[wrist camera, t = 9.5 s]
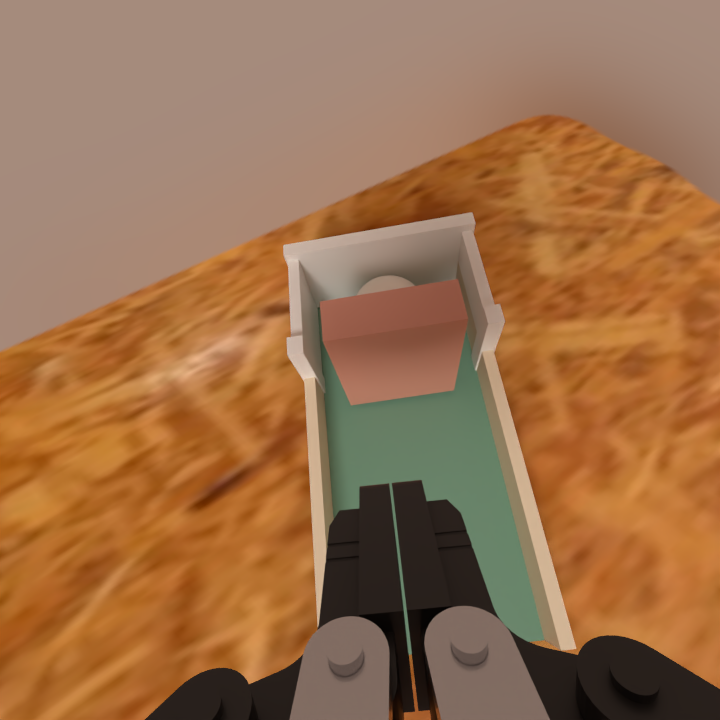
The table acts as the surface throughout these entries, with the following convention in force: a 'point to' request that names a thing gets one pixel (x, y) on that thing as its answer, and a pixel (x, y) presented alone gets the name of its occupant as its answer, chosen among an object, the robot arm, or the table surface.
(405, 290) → the block
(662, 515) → the table surface
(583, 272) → the table surface
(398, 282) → the ball
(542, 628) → the pitch
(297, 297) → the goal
